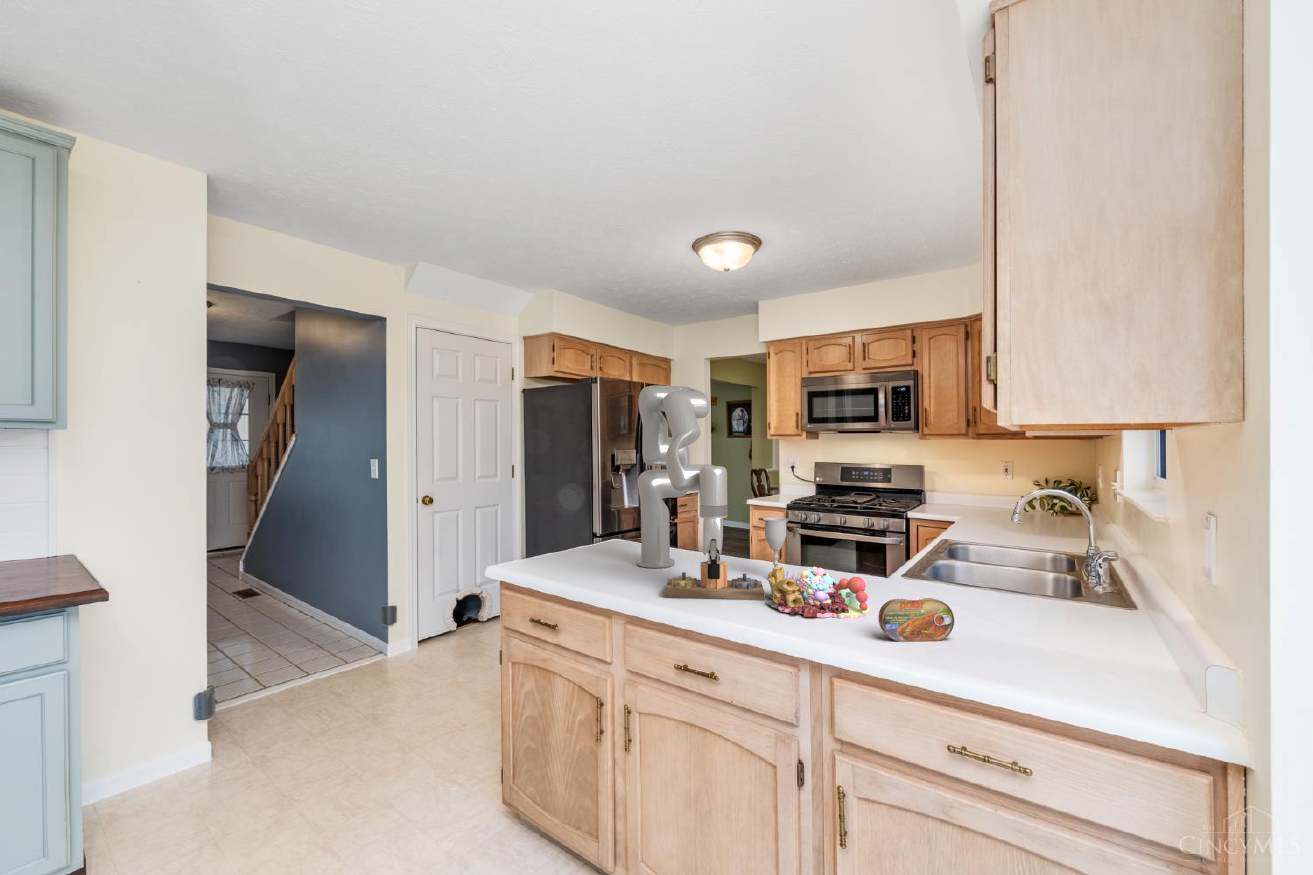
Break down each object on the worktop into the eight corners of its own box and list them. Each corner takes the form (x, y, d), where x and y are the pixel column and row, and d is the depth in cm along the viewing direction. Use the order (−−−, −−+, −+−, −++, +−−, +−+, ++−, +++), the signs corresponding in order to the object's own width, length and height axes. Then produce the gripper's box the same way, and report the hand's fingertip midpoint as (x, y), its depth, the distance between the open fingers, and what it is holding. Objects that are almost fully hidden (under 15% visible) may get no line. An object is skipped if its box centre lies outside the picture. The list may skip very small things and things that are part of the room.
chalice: (787, 577, 171) (786, 517, 172) (790, 582, 165) (789, 520, 165) (762, 576, 172) (761, 517, 172) (764, 582, 165) (763, 520, 165)
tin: (882, 642, 116) (882, 601, 116) (876, 637, 119) (876, 596, 119) (955, 641, 117) (955, 600, 117) (947, 635, 120) (946, 595, 120)
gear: (701, 581, 159) (701, 560, 159) (727, 582, 158) (726, 560, 158) (700, 588, 152) (700, 565, 152) (727, 588, 151) (727, 566, 151)
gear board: (668, 586, 162) (668, 567, 162) (761, 588, 159) (761, 569, 159) (664, 597, 150) (664, 577, 150) (764, 600, 147) (764, 579, 147)
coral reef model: (781, 622, 130) (781, 582, 130) (755, 594, 154) (754, 560, 154) (886, 618, 132) (886, 578, 133) (844, 591, 156) (844, 558, 156)
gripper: (700, 507, 164) (701, 567, 164) (698, 515, 147) (698, 582, 146) (727, 507, 163) (727, 567, 163) (727, 515, 146) (728, 582, 146)
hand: (714, 574), depth 155 cm, fingers open, 9 cm apart
